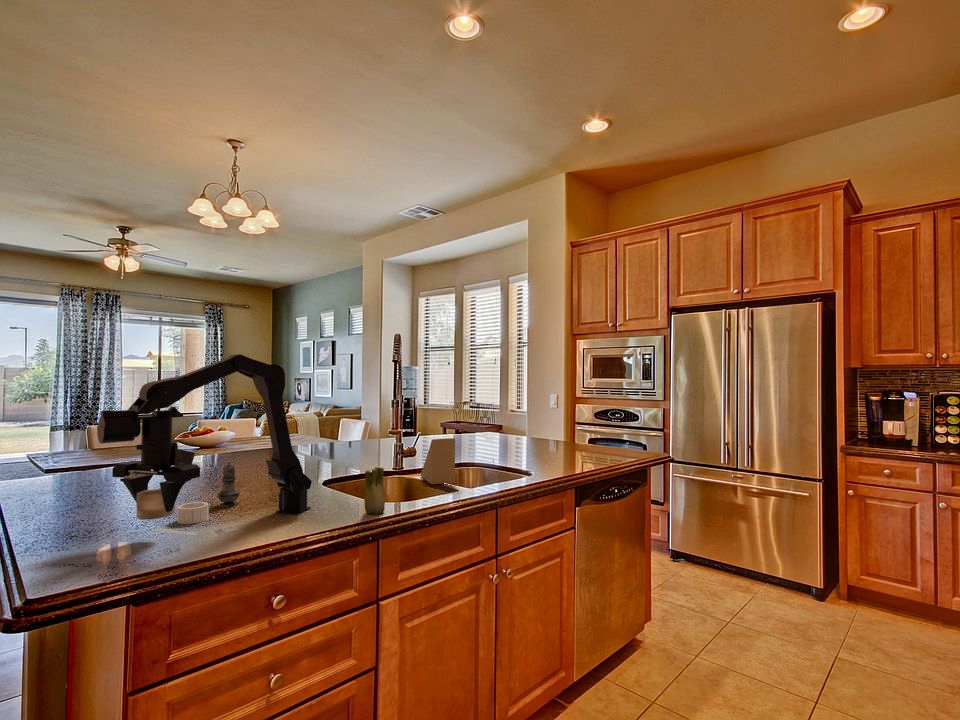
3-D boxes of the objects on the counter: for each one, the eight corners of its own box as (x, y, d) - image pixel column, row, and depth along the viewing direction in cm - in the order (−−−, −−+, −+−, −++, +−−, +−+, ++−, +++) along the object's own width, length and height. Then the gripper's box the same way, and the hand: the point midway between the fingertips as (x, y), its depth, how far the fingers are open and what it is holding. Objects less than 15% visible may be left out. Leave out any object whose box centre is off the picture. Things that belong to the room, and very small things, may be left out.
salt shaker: (230, 508, 136) (231, 464, 136) (211, 507, 137) (212, 463, 138) (244, 503, 142) (245, 460, 142) (226, 501, 143) (227, 459, 143)
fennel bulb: (365, 517, 129) (365, 470, 130) (361, 512, 134) (362, 466, 134) (387, 514, 132) (387, 468, 132) (383, 509, 136) (383, 465, 136)
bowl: (214, 519, 127) (214, 503, 127) (192, 526, 120) (192, 510, 120) (193, 516, 129) (193, 501, 129) (170, 524, 122) (171, 507, 122)
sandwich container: (442, 473, 185) (442, 432, 185) (455, 482, 170) (455, 438, 171) (419, 475, 181) (419, 433, 182) (431, 484, 167) (431, 439, 167)
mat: (199, 535, 114) (199, 533, 114) (151, 554, 103) (151, 551, 103) (157, 530, 117) (157, 528, 117) (107, 548, 106) (107, 545, 106)
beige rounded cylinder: (182, 511, 112) (182, 489, 113) (153, 520, 106) (154, 496, 106) (157, 509, 114) (157, 487, 114) (128, 518, 108) (128, 494, 108)
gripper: (220, 435, 116) (219, 503, 115) (156, 432, 121) (155, 498, 120) (178, 442, 105) (177, 517, 105) (110, 438, 110) (109, 510, 110)
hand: (155, 510), depth 110 cm, fingers closed on beige rounded cylinder, 7 cm apart
